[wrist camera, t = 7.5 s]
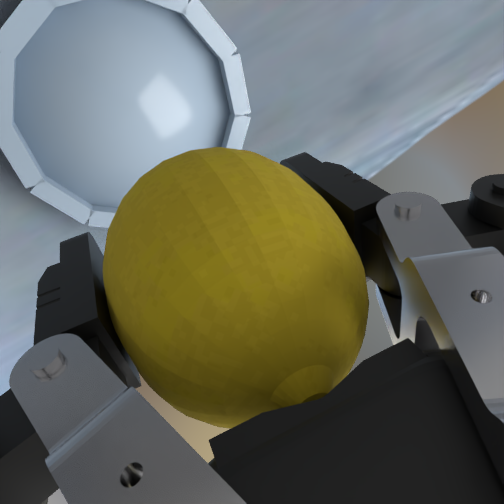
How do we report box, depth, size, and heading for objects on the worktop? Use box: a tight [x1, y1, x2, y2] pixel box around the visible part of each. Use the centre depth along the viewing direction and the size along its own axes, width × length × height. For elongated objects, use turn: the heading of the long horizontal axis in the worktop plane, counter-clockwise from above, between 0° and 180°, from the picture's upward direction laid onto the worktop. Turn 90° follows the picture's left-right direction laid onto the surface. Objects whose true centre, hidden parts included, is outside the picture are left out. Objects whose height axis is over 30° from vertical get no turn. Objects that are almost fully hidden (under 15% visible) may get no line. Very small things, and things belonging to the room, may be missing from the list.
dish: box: [0, 0, 251, 228], centre depth 21 cm, size 13×13×2 cm
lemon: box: [103, 147, 369, 428], centre depth 9 cm, size 6×6×8 cm
